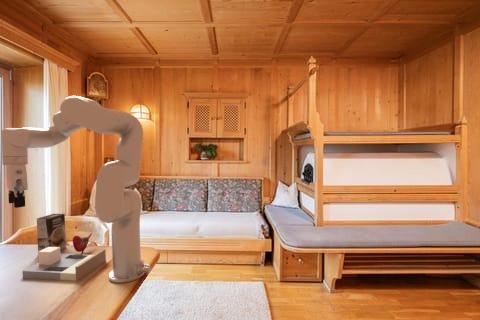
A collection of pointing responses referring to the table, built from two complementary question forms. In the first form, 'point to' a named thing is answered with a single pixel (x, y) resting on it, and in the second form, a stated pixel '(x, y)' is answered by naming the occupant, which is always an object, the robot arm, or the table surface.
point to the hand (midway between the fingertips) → (16, 204)
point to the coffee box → (51, 231)
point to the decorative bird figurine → (80, 243)
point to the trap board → (67, 267)
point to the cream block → (49, 255)
